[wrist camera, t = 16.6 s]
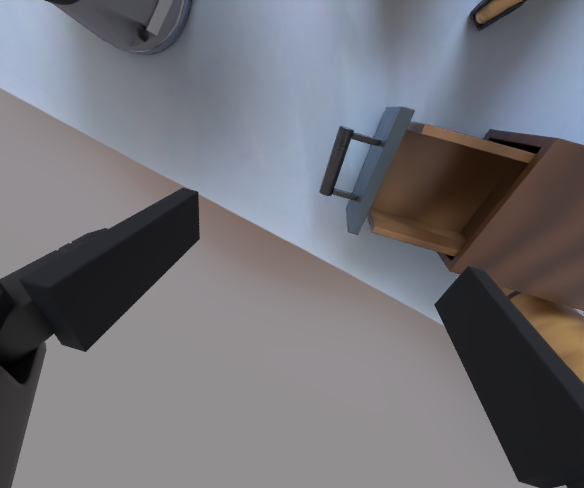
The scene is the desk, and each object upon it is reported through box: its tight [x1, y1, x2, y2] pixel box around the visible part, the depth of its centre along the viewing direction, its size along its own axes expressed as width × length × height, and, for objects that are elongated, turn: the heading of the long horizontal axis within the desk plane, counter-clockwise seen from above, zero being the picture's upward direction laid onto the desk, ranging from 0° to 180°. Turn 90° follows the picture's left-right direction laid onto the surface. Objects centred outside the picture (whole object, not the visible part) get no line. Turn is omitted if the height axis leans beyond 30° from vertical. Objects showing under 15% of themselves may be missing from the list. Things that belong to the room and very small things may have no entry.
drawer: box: [320, 107, 536, 257], centre depth 25 cm, size 20×12×7 cm, turn 77°
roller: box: [498, 286, 584, 383], centre depth 28 cm, size 6×6×15 cm
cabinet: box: [436, 129, 584, 311], centre depth 24 cm, size 17×14×9 cm
